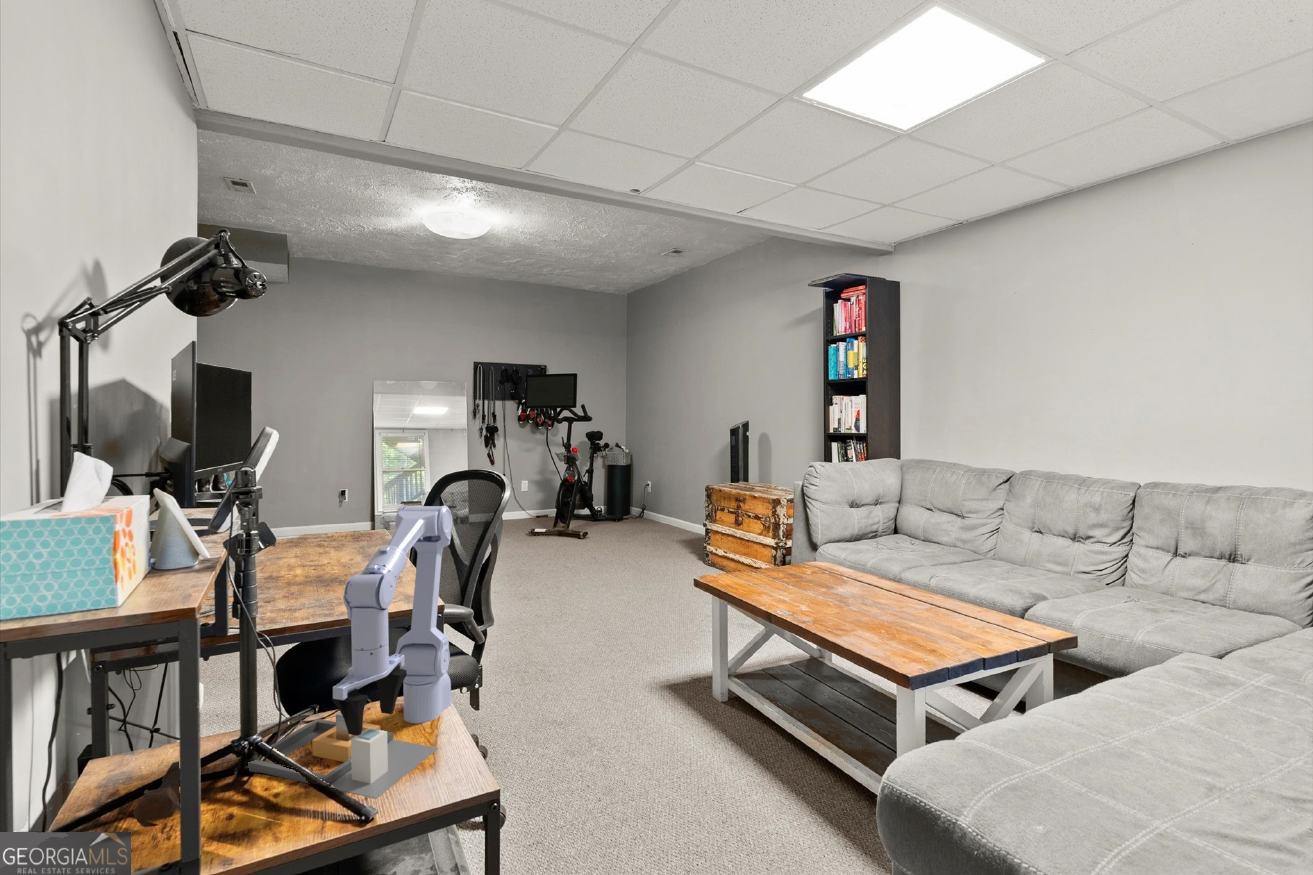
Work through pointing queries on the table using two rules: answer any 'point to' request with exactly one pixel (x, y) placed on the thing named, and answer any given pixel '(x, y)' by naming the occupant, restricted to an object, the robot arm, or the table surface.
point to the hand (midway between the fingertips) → (371, 722)
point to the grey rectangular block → (342, 729)
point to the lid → (399, 765)
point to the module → (369, 755)
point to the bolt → (160, 799)
